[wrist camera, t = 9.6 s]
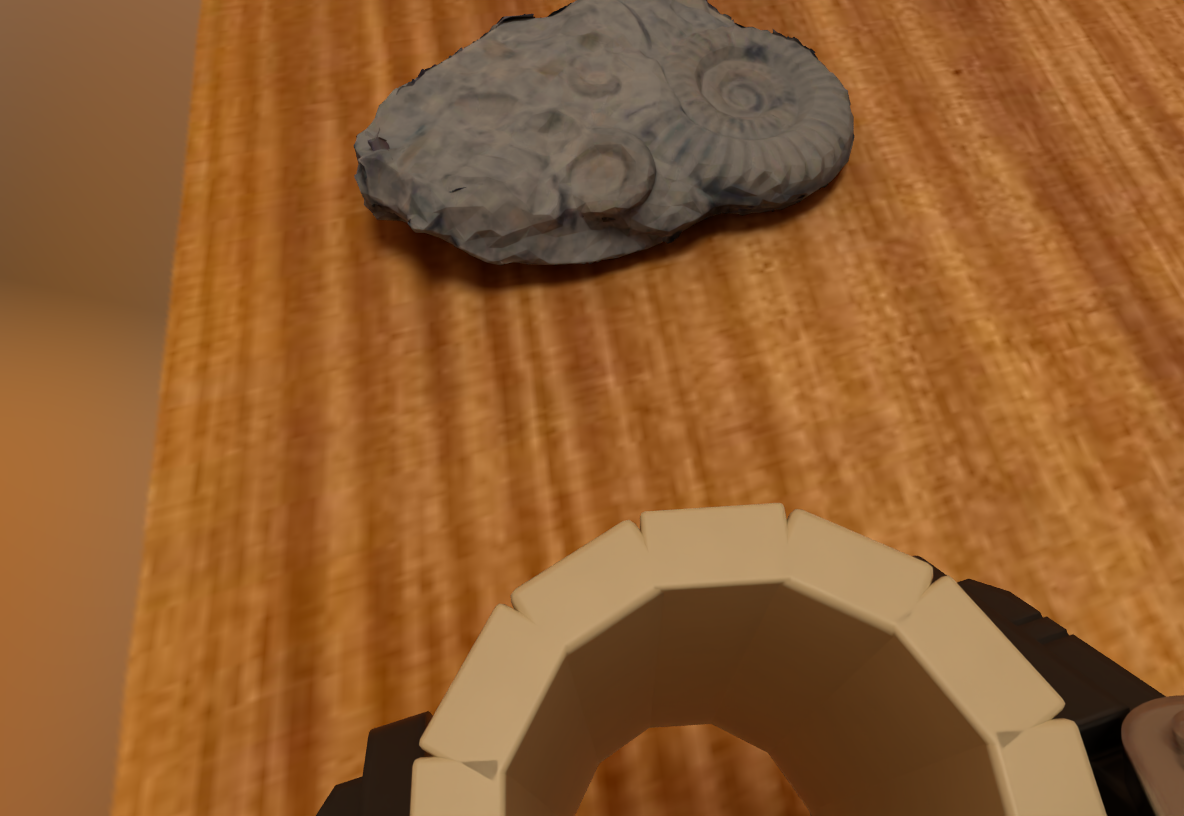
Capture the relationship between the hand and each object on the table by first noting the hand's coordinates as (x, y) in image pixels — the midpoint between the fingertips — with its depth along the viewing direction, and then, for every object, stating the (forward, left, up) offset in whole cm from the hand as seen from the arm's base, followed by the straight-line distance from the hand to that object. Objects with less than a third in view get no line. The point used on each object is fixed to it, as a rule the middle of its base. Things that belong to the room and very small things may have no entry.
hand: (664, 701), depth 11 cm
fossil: (+20, -12, -12) cm, 26 cm away
